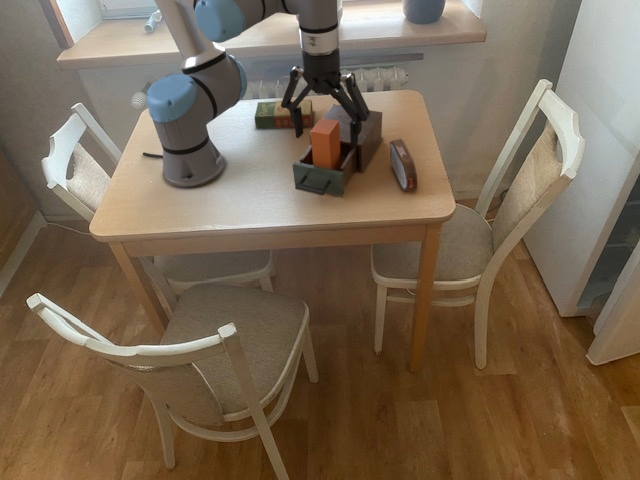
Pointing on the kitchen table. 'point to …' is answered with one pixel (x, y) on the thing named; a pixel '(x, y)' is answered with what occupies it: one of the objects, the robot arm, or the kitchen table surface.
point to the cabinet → (367, 136)
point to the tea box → (326, 144)
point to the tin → (403, 165)
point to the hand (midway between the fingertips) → (326, 140)
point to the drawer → (325, 172)
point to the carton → (280, 115)
